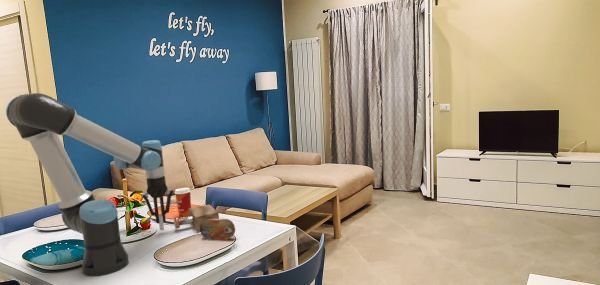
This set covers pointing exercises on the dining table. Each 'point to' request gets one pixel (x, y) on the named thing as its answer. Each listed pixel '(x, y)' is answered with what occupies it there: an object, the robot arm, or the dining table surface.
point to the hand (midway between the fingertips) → (161, 229)
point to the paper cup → (183, 201)
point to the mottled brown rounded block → (217, 229)
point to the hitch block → (202, 215)
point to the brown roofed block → (182, 221)
